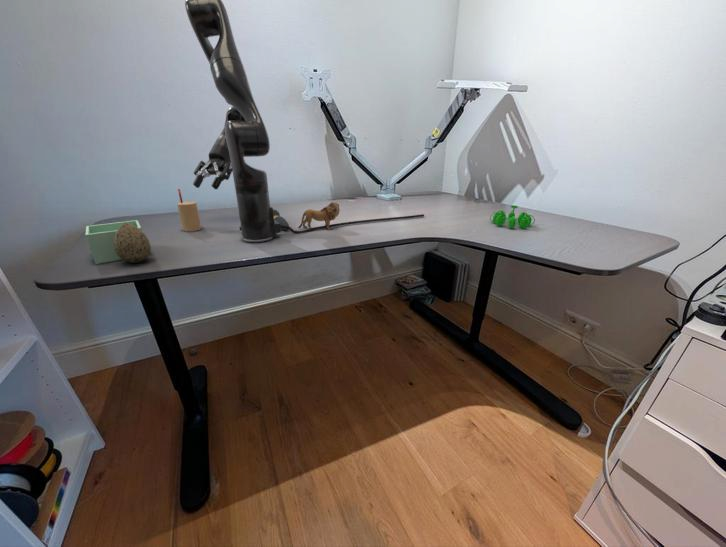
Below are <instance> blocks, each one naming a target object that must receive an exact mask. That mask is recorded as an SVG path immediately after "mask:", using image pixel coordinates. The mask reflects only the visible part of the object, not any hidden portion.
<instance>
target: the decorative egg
mask: <svg viewBox="0 0 726 547" xmlns="http://www.w3.org/2000/svg"><path fill="white" fill-rule="evenodd" d="M114 248H115V251H116V253H117V254H118V256H119V257H120V258H121V259H122V261H124V262H127V263H130V264H139V263H141V262H144V261H145V260H146V259H147V258H148V257H149V256H150V253H151V242H150V239H149V238H148V237H147V236H146V234H145V232H143V230H142V231H141V230H140V229H138V228H137V227H135V226H133V225H132V224H129V223H124V224H122V225H121V226H120V227H119V229H118V230H117V232H116V234H115V237H114Z"/></svg>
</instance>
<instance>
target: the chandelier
mask: <svg viewBox="0 0 726 547" xmlns="http://www.w3.org/2000/svg"><path fill="white" fill-rule="evenodd" d="M510 208H513V210H511V211H510V212H509V213H508V216H507V214H506V212H505V210H498V211H494V212H492V214H491V215H490V216H489V220H490V222H491V223H492V224H495V225H496V226H497V227H502V226H504V225H505V223H506V221H508V224H507V226H508V227H509V228H510V229H513V228H515V227H516V223H517V222H518V223H517V224H518V227H519V228H520V229H523V230H525V229H527V228H528V227H532V226H533V225H534V224H535V222H536V219H535V217H534V216H533V215H532V214H528V213H527V212H526V211H523V212H520V214H519V215H518V217H517V218H516V217H515V216H516V213H515V209H518V208H519V206H518V205H510ZM492 216H493V217H492ZM532 218H533V222H532Z"/></svg>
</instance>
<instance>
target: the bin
mask: <svg viewBox="0 0 726 547" xmlns="http://www.w3.org/2000/svg"><path fill="white" fill-rule="evenodd" d="M124 223H129V224H132V225H133V226H135V227H137V228H138V229H140V230H141V231H142V232H143V229H142V226H141V224H140V223H139V219H136V220H127V221H118V222H110V223H102V224H93V225H86V227H85V233H84V236H85V238H86V241H87V245H88V246H89V250H90V252H91V253H90V254H91V255H92V258H93V260H94V264H95V265H99V264H104V263H105V264H106V263H110V262H117V261H123V259H121V258H120V257H119V256H118V254H117V253H116V251H115V248H114V237H115V234H116V232H117V230H118V229H119V227H120V226H121V225H122V224H124Z"/></svg>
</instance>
